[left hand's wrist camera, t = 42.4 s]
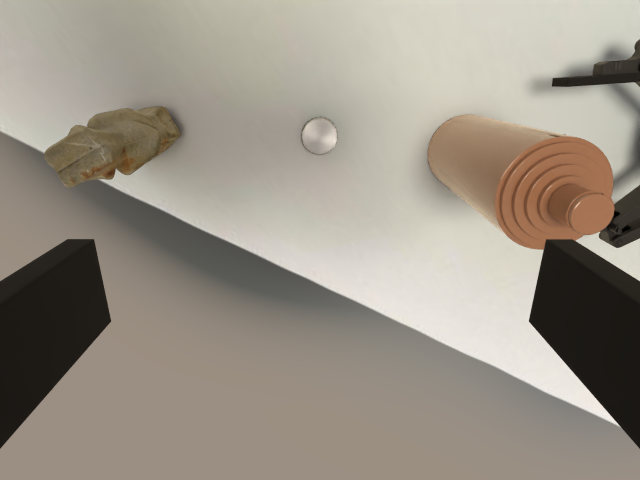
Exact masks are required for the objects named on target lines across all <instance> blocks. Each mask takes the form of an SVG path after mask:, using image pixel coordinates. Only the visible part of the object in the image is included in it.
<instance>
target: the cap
mask: <svg viewBox="0 0 640 480" xmlns="http://www.w3.org/2000/svg"><path fill="white" fill-rule="evenodd" d="M302 131H303V132H302V141H303V145H304V146H305V147H306V149H307V150H308V151H310V152H311V153H313V154H317V155H322V154H326V153H328V152H330V151H331V150H332V149H333V148H334V147H335V144H336V143H337V138H338V137H337V131H336V127H335V126H334V125H333V123H332V122H331V121H330V120H328V119H326V118H323V117H316V118H313V119H311V120H310V121H308V122H307V124H306V125H305V126H304V129H303V130H302Z"/></svg>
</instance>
